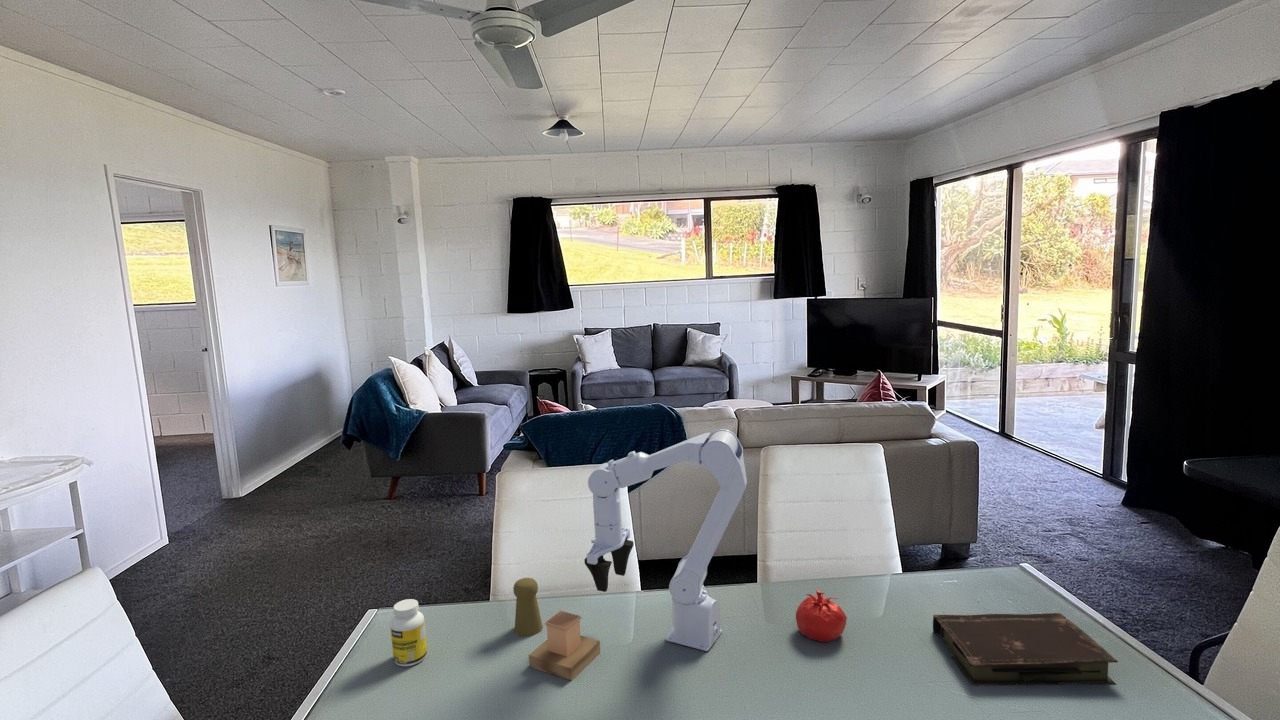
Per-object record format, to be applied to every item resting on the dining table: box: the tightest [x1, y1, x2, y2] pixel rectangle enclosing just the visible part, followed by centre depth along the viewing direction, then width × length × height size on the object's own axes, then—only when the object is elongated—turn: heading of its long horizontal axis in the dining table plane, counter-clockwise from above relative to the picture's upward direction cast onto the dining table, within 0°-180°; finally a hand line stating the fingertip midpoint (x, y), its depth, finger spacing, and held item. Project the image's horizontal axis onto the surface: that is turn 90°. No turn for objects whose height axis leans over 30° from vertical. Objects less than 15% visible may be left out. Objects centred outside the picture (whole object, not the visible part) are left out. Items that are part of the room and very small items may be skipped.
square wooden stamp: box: [544, 610, 582, 657], centre depth 129 cm, size 5×5×6 cm
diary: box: [932, 612, 1119, 687], centre depth 124 cm, size 19×25×5 cm
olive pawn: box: [512, 577, 544, 637], centre depth 141 cm, size 6×6×11 cm
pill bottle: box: [389, 598, 428, 667], centre depth 132 cm, size 6×6×12 cm
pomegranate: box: [795, 589, 847, 643], centre depth 134 cm, size 10×10×9 cm
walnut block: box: [528, 635, 601, 681], centre depth 129 cm, size 10×10×2 cm
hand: (611, 582), depth 139 cm, fingers open, 7 cm apart
